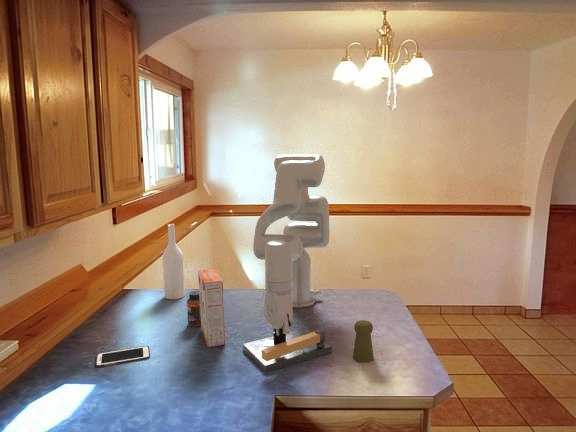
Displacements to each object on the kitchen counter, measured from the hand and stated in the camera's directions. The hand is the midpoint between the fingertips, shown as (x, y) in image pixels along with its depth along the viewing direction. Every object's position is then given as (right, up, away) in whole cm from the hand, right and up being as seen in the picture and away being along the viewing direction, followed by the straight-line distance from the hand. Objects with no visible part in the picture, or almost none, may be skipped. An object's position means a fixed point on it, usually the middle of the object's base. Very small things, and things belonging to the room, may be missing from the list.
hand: (279, 346), depth 123 cm
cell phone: (-46, -5, +4) cm, 46 cm away
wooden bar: (+5, 0, 0) cm, 5 cm away
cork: (+24, -4, +2) cm, 24 cm away
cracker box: (-22, -2, +16) cm, 27 cm away
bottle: (-44, +4, +54) cm, 70 cm away
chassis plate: (+2, -3, +6) cm, 7 cm away
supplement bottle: (-29, 0, +26) cm, 39 cm away
